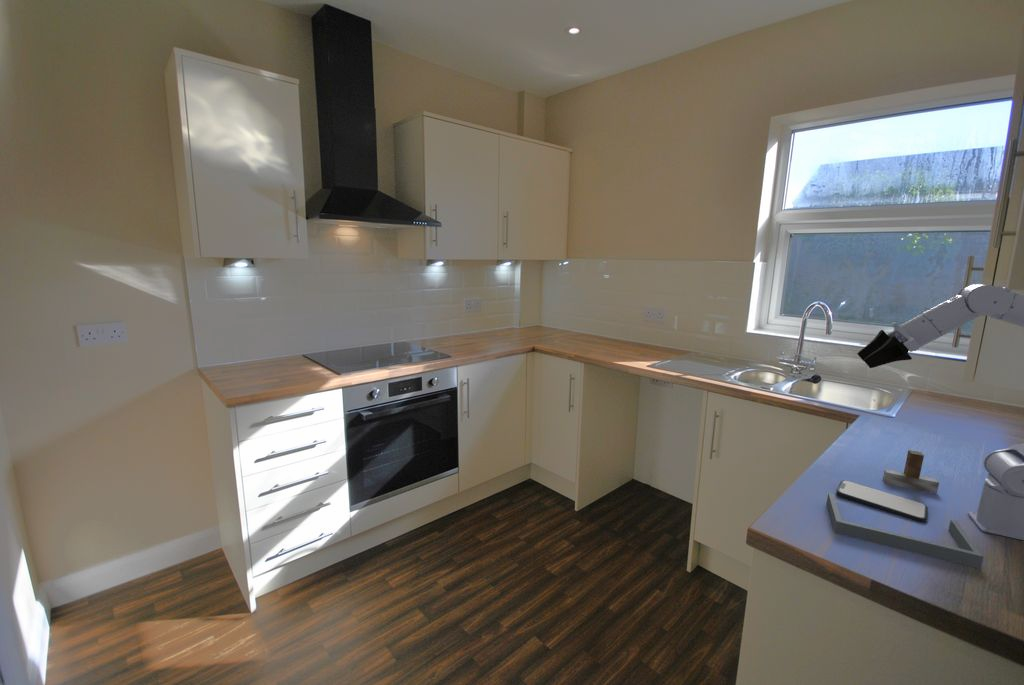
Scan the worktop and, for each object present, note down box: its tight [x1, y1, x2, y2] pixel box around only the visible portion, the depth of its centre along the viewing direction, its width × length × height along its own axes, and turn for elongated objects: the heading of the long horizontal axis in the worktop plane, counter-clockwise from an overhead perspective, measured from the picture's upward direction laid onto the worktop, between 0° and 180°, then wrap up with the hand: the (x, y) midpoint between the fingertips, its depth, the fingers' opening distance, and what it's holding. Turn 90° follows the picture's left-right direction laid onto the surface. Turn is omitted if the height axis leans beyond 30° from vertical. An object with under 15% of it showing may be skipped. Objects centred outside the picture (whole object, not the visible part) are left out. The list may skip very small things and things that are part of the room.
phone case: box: [835, 479, 929, 524], centre depth 107 cm, size 9×2×16 cm
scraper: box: [882, 449, 940, 494], centre depth 114 cm, size 10×2×9 cm, turn 62°
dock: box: [826, 492, 984, 570], centre depth 95 cm, size 22×13×2 cm, turn 62°
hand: (863, 360), depth 104 cm, fingers open, 7 cm apart
